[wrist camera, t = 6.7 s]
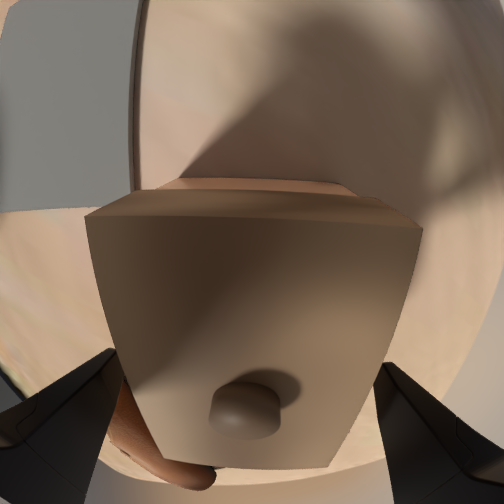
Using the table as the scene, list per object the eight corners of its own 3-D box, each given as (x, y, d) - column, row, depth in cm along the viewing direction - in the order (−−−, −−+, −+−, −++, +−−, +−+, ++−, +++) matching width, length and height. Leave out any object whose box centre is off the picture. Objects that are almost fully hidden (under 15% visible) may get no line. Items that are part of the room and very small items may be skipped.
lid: (375, 197, 8) (442, 241, 4) (321, 418, 12) (329, 481, 9) (137, 190, 8) (63, 227, 5) (177, 411, 12) (160, 471, 9)
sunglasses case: (58, 373, 19) (50, 421, 13) (116, 343, 21) (120, 389, 16) (158, 468, 25) (172, 508, 20) (204, 446, 28) (225, 485, 22)
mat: (155, -56, 7) (153, -60, 6) (135, 203, 13) (131, 205, 13) (13, 8, 7) (9, 7, 7) (0, 210, 13) (-5, 213, 13)
